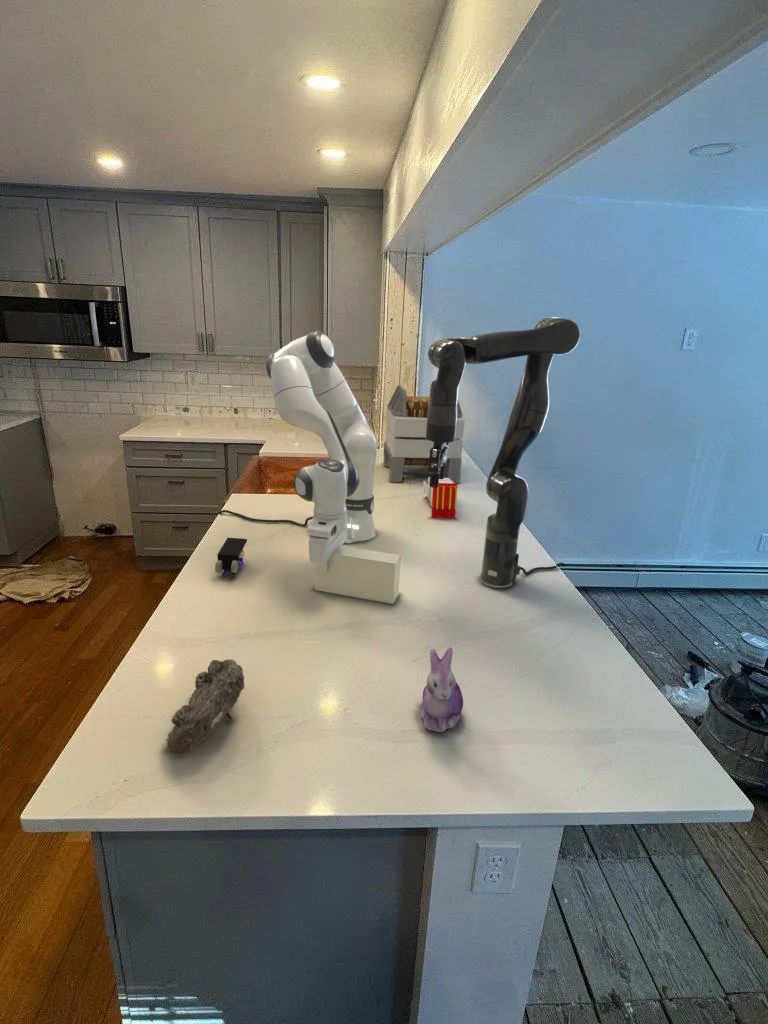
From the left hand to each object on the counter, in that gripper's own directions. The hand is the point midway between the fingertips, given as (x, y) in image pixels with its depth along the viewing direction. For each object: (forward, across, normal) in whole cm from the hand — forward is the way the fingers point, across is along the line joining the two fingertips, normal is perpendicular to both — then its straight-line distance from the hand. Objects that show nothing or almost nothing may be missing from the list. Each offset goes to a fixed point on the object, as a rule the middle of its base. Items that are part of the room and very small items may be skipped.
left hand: (329, 566), depth 158 cm
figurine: (+6, +43, +40) cm, 59 cm away
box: (+6, 0, +8) cm, 10 cm away
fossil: (+6, +57, -2) cm, 58 cm away
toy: (+6, -81, +16) cm, 83 cm away
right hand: (-26, -8, +27) cm, 38 cm away
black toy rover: (+7, 0, -31) cm, 31 cm away
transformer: (+6, -126, -2) cm, 126 cm away
